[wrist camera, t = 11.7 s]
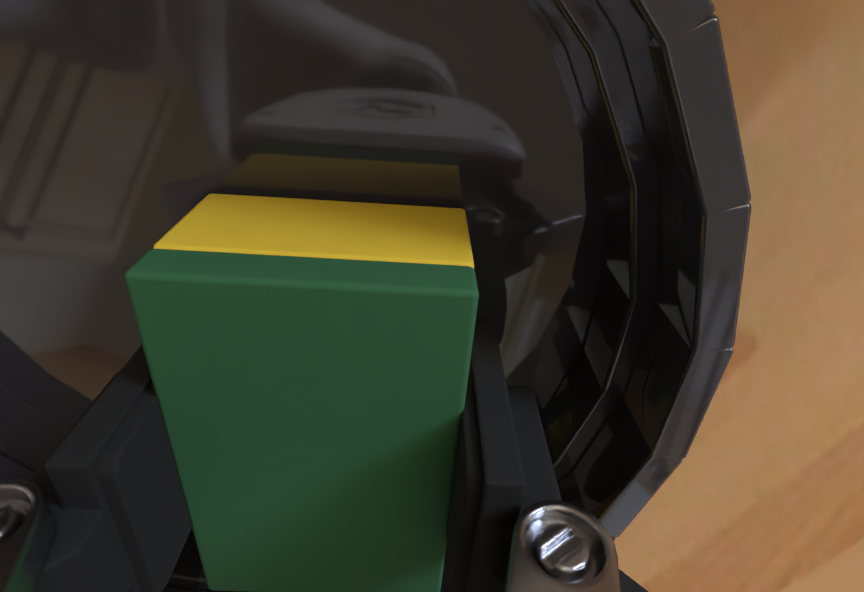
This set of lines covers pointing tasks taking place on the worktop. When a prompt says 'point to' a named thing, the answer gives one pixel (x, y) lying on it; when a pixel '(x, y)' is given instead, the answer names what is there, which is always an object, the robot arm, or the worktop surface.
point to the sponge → (312, 385)
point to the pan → (391, 193)
